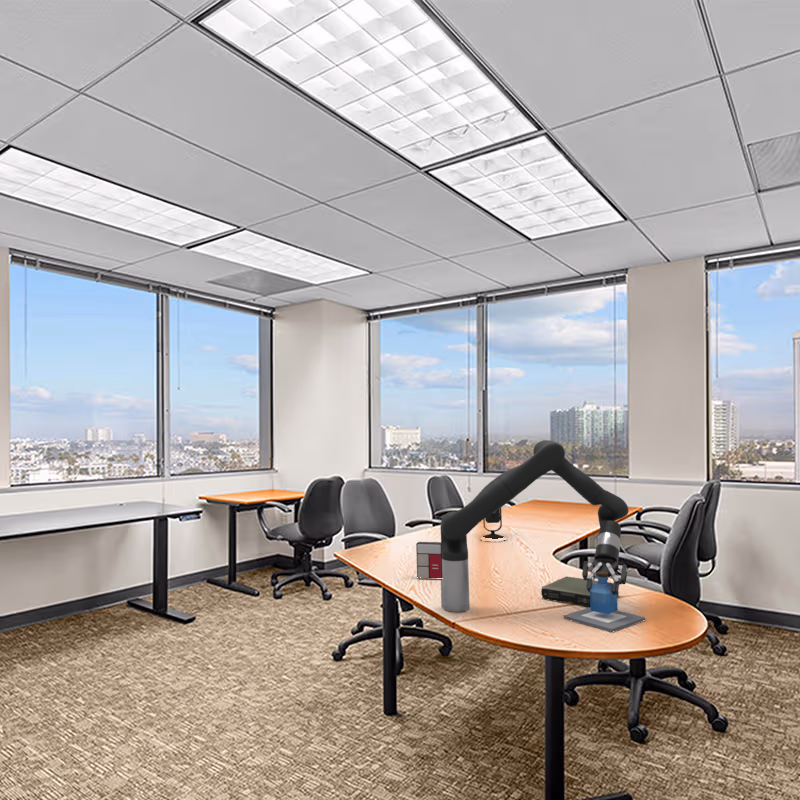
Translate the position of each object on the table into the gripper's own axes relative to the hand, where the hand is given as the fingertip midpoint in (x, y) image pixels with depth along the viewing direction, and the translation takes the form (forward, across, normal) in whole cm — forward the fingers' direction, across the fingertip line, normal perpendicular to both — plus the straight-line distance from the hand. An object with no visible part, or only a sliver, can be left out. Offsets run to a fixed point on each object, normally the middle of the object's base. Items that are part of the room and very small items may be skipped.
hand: (601, 592), depth 192 cm
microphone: (-81, -87, +95) cm, 152 cm away
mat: (+5, 0, +7) cm, 9 cm away
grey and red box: (-12, -76, +25) cm, 81 cm away
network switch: (-10, -13, +24) cm, 29 cm away
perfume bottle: (+3, 0, +6) cm, 6 cm away
